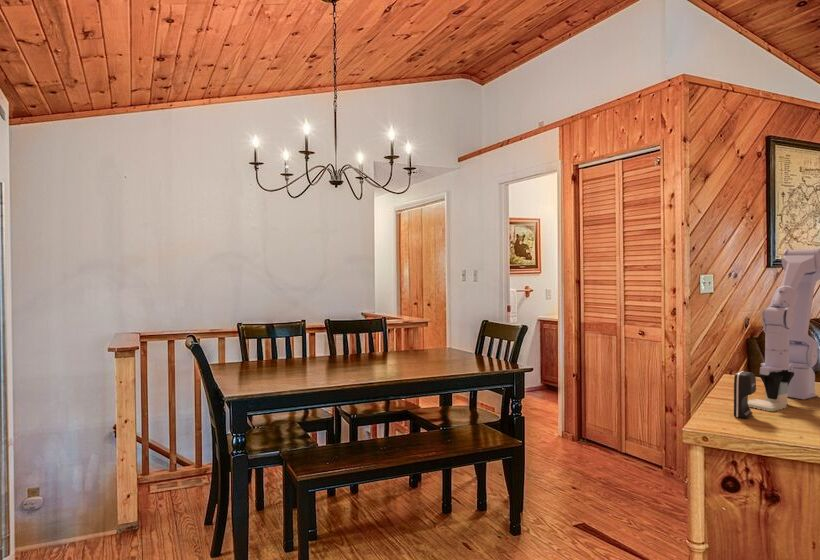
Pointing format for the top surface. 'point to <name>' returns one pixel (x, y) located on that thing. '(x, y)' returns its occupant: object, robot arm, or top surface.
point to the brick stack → (780, 394)
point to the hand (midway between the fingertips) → (776, 397)
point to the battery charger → (743, 393)
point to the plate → (765, 405)
